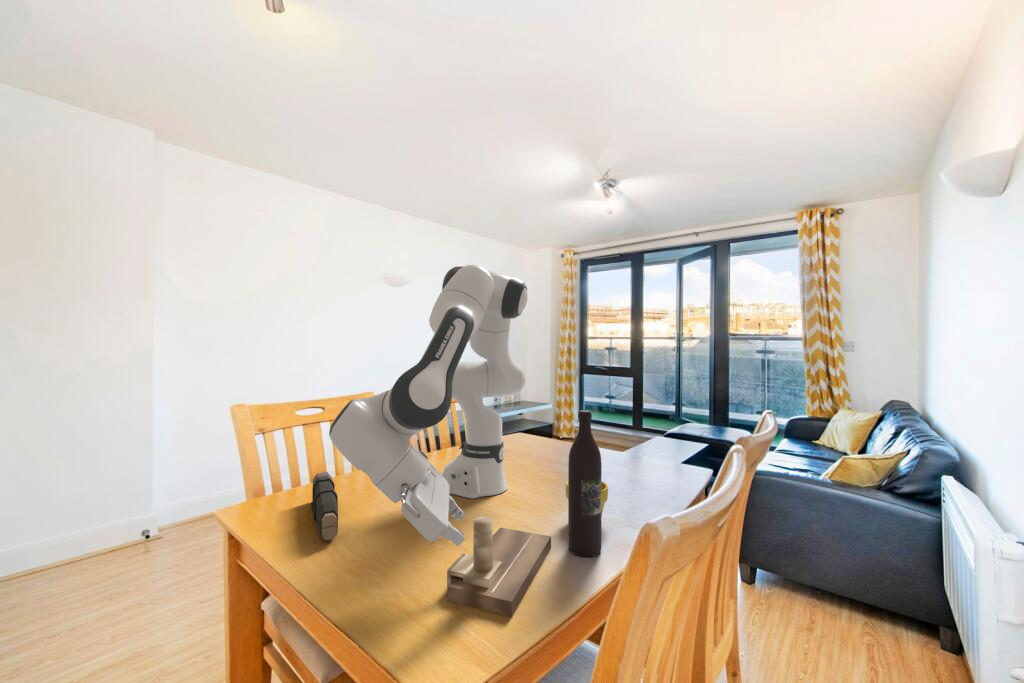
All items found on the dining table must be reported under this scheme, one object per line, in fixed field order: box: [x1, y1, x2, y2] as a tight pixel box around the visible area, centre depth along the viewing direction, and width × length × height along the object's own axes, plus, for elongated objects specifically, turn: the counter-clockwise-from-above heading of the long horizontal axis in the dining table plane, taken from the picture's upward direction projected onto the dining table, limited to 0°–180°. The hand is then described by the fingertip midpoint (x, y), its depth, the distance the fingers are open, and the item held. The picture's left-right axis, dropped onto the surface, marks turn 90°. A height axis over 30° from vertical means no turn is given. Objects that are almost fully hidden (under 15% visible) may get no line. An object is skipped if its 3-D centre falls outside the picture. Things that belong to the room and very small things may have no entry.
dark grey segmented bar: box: [310, 471, 339, 541], centre depth 102 cm, size 11×7×30 cm
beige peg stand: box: [446, 516, 502, 588], centre depth 74 cm, size 8×6×12 cm
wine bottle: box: [567, 409, 603, 558], centre depth 88 cm, size 7×7×30 cm
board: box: [446, 527, 552, 618], centre depth 79 cm, size 12×24×3 cm, turn 159°
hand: (461, 528), depth 73 cm, fingers open, 8 cm apart
